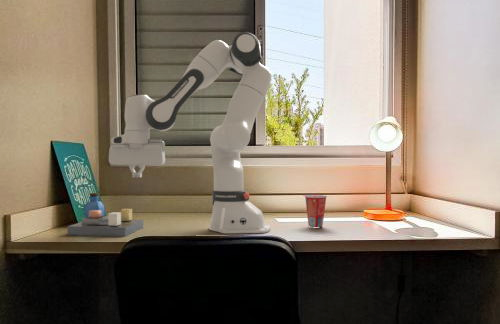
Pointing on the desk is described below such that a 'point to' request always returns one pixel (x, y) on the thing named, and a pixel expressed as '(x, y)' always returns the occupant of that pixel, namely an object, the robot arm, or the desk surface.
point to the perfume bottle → (93, 205)
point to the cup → (315, 209)
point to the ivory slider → (114, 218)
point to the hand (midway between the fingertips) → (137, 177)
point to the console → (104, 227)
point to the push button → (95, 214)
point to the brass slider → (126, 214)
